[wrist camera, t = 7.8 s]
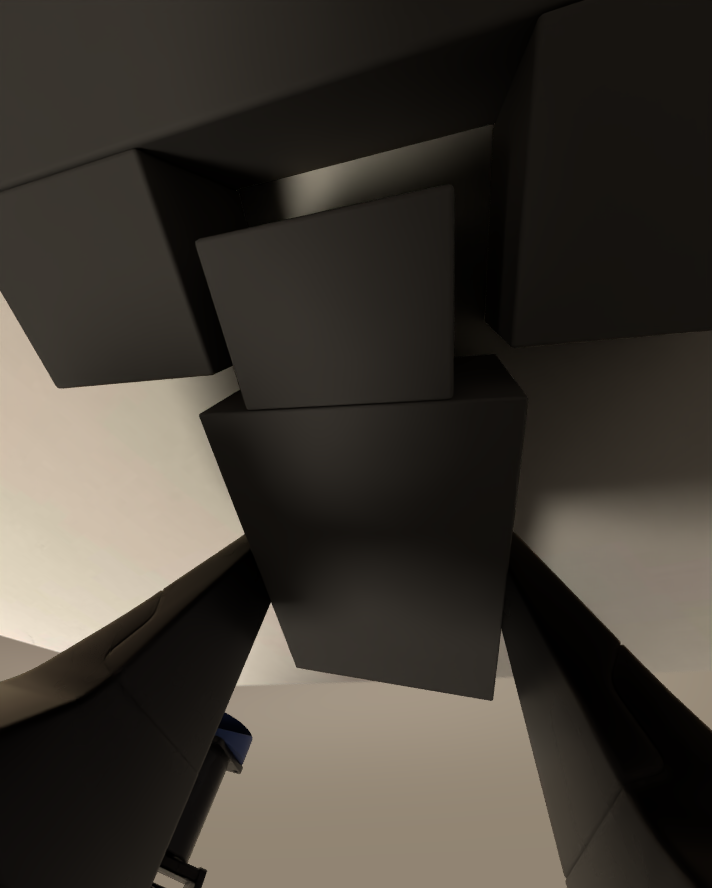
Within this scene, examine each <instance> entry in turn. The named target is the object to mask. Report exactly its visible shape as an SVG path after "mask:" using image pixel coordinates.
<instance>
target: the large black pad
mask: <svg viewBox="0 0 712 888" xmlns="http://www.w3.org/2000/svg"><path fill="white" fill-rule="evenodd" d="M494 123H495V125H494V128H493V140H492V163H491V185H490V207H489V230H488V252H487V275H486V297H485V319H484V320H485V323H487V324H488V325H489V326H490V327H491V328H492V329H493V330H494V331H495V332H496V333H497V334H498V335H499V336H500V337H501V338H502V339H503V340H504V341H505V342H506V343H507V344H508V345H509V346H510V347H513V348H520V347H531V346H542V345H554V344H565V343H576V342H587V341H598V340H609V339H620V338H631V337H643V336H654V335H665V334H676V333H687V332H698V331H709V330H712V0H0V291H1V293H2V294H3V296H4V298H5V299H6V301H7V303H8V305H9V306H10V308H11V310H12V311H13V313H14V315H15V317H16V318H17V320H18V322H19V323H20V325H21V327H22V329H23V330H24V332H25V334H26V335H27V337H28V339H29V341H30V342H31V344H32V346H33V347H34V349H35V351H36V353H37V354H38V356H39V358H40V359H41V361H42V363H43V365H44V366H45V368H46V370H47V371H48V373H49V375H50V377H51V378H52V380H53V382H54V383H55V385H56V386H57V387H58V388H73V387H84V386H96V385H107V384H118V383H129V382H140V381H151V380H162V379H173V378H184V377H195V376H207V375H214V374H216V373H218V372H220V371H222V370H224V369H227V368H229V367H231V366H233V364H232V360H231V357H230V354H229V351H228V348H227V344H226V341H225V338H224V335H223V332H222V328H221V325H220V322H219V319H218V316H217V312H216V309H215V306H214V303H213V299H212V296H211V293H210V290H209V287H208V283H207V280H206V277H205V274H204V271H203V267H202V264H201V261H200V258H199V254H198V251H197V248H196V242H195V241H197V240H198V239H199V238H204V237H209V236H213V235H218V234H222V233H227V232H231V231H236V230H241V229H245V228H248V226H247V222H246V218H245V213H244V209H243V205H242V201H241V197H240V194H239V192H238V191H236V190H238V189H242V188H246V187H250V186H253V185H257V184H261V183H265V182H269V181H273V180H277V179H281V178H284V177H288V176H292V175H296V174H300V173H304V172H308V171H312V170H315V169H319V168H323V167H327V166H331V165H335V164H339V163H343V162H346V161H350V160H354V159H358V158H362V157H366V156H370V155H374V154H377V153H381V152H385V151H389V150H393V149H397V148H401V147H405V146H409V145H412V144H416V143H420V142H424V141H428V140H432V139H436V138H440V137H443V136H447V135H451V134H455V133H459V132H463V131H467V130H471V129H474V128H478V127H482V126H486V125H490V124H494Z"/></svg>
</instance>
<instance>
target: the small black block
mask: <svg viewBox="0 0 712 888" xmlns="http://www.w3.org/2000/svg"><path fill="white" fill-rule="evenodd" d="M454 217H455V191H454V188H453V186H452V185H449V184H447V185H442V186H437V187H433V188H428V189H424V190H419V191H415V192H410V193H405V194H401V195H396V196H392V197H387V198H382V199H378V200H373V201H369V202H364V203H360V204H355V205H350V206H346V207H341V208H337V209H332V210H328V211H323V212H318V213H314V214H309V215H305V216H300V217H296V218H291V219H286V220H282V221H277V222H273V223H268V224H263V225H259V226H254V227H250V228H245V229H241V230H236V231H231V232H227V233H222V234H218V235H213V236H209V237H204V238H199V239H198V240H197V241H195V242H196V248H197V251H198V254H199V258H200V261H201V264H202V267H203V271H204V274H205V277H206V280H207V283H208V287H209V290H210V293H211V296H212V299H213V303H214V306H215V309H216V312H217V316H218V319H219V322H220V325H221V328H222V332H223V335H224V338H225V341H226V344H227V348H228V351H229V354H230V357H231V360H232V364H233V367H234V370H235V373H236V377H237V380H238V383H239V386H240V390H239V391H237V392H235V393H234V394H232V395H230V396H229V397H227V398H225V399H224V400H222V401H220V402H219V403H217V404H215V405H214V406H212V407H210V408H209V409H207V410H205V411H204V412H202V413H201V414H199V417H200V420H201V422H202V425H203V427H204V430H205V433H206V435H207V438H208V440H209V443H210V445H211V448H212V451H213V453H214V456H215V458H216V461H217V463H218V466H219V469H220V471H221V474H222V476H223V479H224V482H225V484H226V487H227V489H228V492H229V494H230V497H231V500H232V502H233V505H234V507H235V510H236V512H237V515H238V518H239V520H240V523H241V525H242V528H243V530H244V533H245V536H246V538H247V541H248V543H249V546H250V549H251V551H252V554H253V556H254V559H255V561H256V564H257V567H258V569H259V572H260V574H261V577H262V579H263V582H264V585H265V587H266V590H267V592H268V595H269V597H270V600H271V603H272V605H273V608H274V610H275V613H276V616H277V618H278V621H279V623H280V626H281V628H282V631H283V634H284V636H285V639H286V641H287V644H288V646H289V649H290V652H291V654H292V657H293V659H294V662H295V664H296V667H297V668H301V669H307V670H313V671H319V672H325V673H331V674H337V675H342V676H348V677H354V678H360V679H366V680H372V681H378V682H384V683H390V684H396V685H401V686H408V687H414V688H419V689H425V690H431V691H437V692H443V693H449V694H454V695H460V696H466V697H473V698H478V699H484V700H490V701H492V700H493V696H494V687H495V678H496V670H497V661H498V653H499V644H500V636H501V625H502V616H503V608H504V599H505V591H506V582H507V573H508V567H509V559H510V550H511V542H512V533H513V525H514V516H515V508H516V499H517V491H518V482H519V473H520V465H521V456H522V448H523V439H524V431H525V422H526V414H527V405H528V397H527V395H526V394H525V393H524V391H523V390H522V389H521V387H520V386H519V385H518V384H517V382H516V381H515V380H514V378H513V377H512V376H511V374H510V373H509V372H508V370H507V369H506V368H505V367H504V365H503V364H502V363H501V361H500V360H499V359H498V357H497V356H496V355H495V354H488V355H477V356H465V357H454Z"/></svg>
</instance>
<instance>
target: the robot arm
mask: <svg viewBox="0 0 712 888" xmlns="http://www.w3.org/2000/svg"><path fill="white" fill-rule="evenodd" d="M270 603H271V600H270V597H269V595H268V592H267V590H266V587H265V585H264V582H263V579H262V577H261V574H260V572H259V569H258V567H257V564H256V561H255V559H254V556H253V554H252V551H251V549H250V546H249V543H248V541H247V538H246V536H245V534H244V535H243V536H241V537H240V538H239V539H237V540H236V541H234V542H233V543H231V544H230V545H228V546H227V547H225V548H224V549H222V550H221V551H219V552H218V553H216V554H215V555H213V556H212V557H210V558H209V559H207V560H206V561H204V562H203V563H201V564H200V565H198V566H197V567H195V568H194V569H192V570H191V571H189V572H188V573H186V574H185V575H183V576H182V577H180V578H179V579H177V580H176V581H175V582H173V583H172V584H170V585H169V586H167V587H166V588H164V589H163V591H160V592H158V593H157V594H155V595H154V596H152V597H151V598H149V599H148V600H146V601H145V602H143V603H142V604H140V605H138V606H137V607H135V608H134V609H132V610H131V611H129V612H128V613H126V614H125V615H123V616H121V617H120V618H118V619H116V620H115V621H113V622H112V623H110V624H108V625H107V626H105V627H103V628H102V629H100V630H98V631H97V632H95V633H93V634H92V635H90V636H88V637H87V638H85V639H83V640H82V641H80V642H78V643H77V644H75V645H73V646H72V647H70V648H68V649H67V650H65V651H63V652H62V653H60V654H58V655H57V656H55V657H53V658H52V659H50V660H48V661H46V662H45V663H43V664H41V665H39V666H38V667H36V668H34V669H32V670H30V671H27V672H25V673H23V674H21V675H18V676H16V677H13V678H10V679H7V680H4V681H1V682H0V888H165V887H163V886H160V885H158V884H156V883H154V882H153V881H154V878H155V876H156V874H157V872H159V873H162V874H164V875H166V876H168V877H170V878H172V879H174V880H177V881H179V882H181V883H183V884H185V885H184V887H183V888H201V887H202V884H203V881H204V878H205V875H206V872H207V870H206V869H203V868H201V867H200V868H196V867H194V866H192V865H190V864H187V863H188V860H189V858H190V856H191V853H192V851H193V848H194V846H195V844H196V841H197V839H198V836H199V834H200V832H201V829H202V827H203V824H204V822H205V820H206V817H207V815H208V813H209V810H210V808H211V805H212V803H213V800H214V798H215V796H216V793H217V791H218V789H219V786H220V784H221V781H222V779H223V777H224V774H225V771H230V772H233V773H237V774H240V773H241V771H242V769H243V767H242V765H241V764H240V762H239V761H238V760H237V758H236V757H235V755H234V754H233V752H232V751H231V750H230V748H229V747H228V745H227V744H226V743H225V741H224V740H223V739H222V738H221V737H219V736H215V733H216V731H217V729H218V726H219V724H220V722H221V719H222V717H223V714H224V712H225V709H226V707H227V705H228V703H229V700H230V698H231V695H232V693H233V691H234V688H235V686H236V684H237V681H238V679H239V677H240V674H241V672H242V669H243V667H244V665H245V662H246V660H247V658H248V655H249V653H250V650H251V648H252V646H253V643H254V641H255V639H256V636H257V634H258V631H259V629H260V627H261V624H262V622H263V620H264V617H265V615H266V613H267V610H268V608H269V605H270ZM501 629H502V633H503V637H504V641H505V645H506V648H507V652H508V656H509V660H510V664H511V668H512V672H513V676H514V680H515V684H516V688H517V692H518V696H519V700H520V704H521V707H522V711H523V715H524V719H525V723H526V727H527V731H528V735H529V739H530V743H531V747H532V751H533V755H534V759H535V763H536V767H537V770H538V774H539V778H540V782H541V786H542V790H543V794H544V798H545V802H546V806H547V810H548V814H549V818H550V822H551V826H552V829H553V833H554V837H555V841H556V845H557V849H558V853H559V857H560V861H561V865H562V869H563V873H564V876H565V877H566V878H567V879H566V885H567V888H712V730H711V729H710V728H709V727H708V726H706V724H704V723H703V722H702V721H701V720H700V719H699V718H698V717H697V716H696V715H694V714H693V712H692V711H690V710H689V709H688V708H687V707H686V706H685V705H684V704H683V703H682V702H681V701H680V700H679V699H678V698H676V697H675V696H674V695H673V694H672V693H671V692H670V691H669V690H668V689H667V688H666V687H665V686H664V685H663V684H662V683H661V682H660V681H659V680H658V679H657V678H656V677H655V676H654V675H653V674H652V673H651V672H650V671H649V670H648V669H647V668H646V667H645V666H644V665H643V664H642V663H641V662H640V661H639V660H638V659H637V658H636V657H635V656H634V655H633V654H632V653H631V652H630V651H629V650H628V649H627V648H626V647H625V646H624V645H620V641H619V640H618V639H617V637H616V636H615V635H614V634H613V633H612V632H611V631H610V630H609V629H608V628H607V627H606V626H605V625H604V624H603V623H602V622H601V621H600V620H599V619H598V618H597V617H596V616H595V615H594V614H593V613H592V612H591V611H590V610H589V609H588V608H587V606H586V605H585V604H584V603H583V602H582V601H581V600H580V599H579V598H578V597H577V596H576V595H575V594H574V593H573V592H572V591H571V590H570V589H569V588H568V587H567V586H566V585H565V584H564V583H563V582H562V581H561V580H560V579H559V578H558V577H557V575H556V574H555V573H554V572H553V571H552V570H551V569H550V568H549V567H548V566H547V565H546V564H545V563H544V562H543V561H542V560H541V559H540V558H539V557H538V556H537V555H536V554H535V553H534V552H533V551H532V550H531V549H530V548H529V547H528V546H527V544H526V543H525V542H524V541H523V540H522V539H521V538H520V537H519V536H518V535H517V534H516V533H515V532H514V531H513V533H512V542H511V550H510V559H509V567H508V573H507V582H506V591H505V599H504V608H503V616H502V625H501Z"/></svg>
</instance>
